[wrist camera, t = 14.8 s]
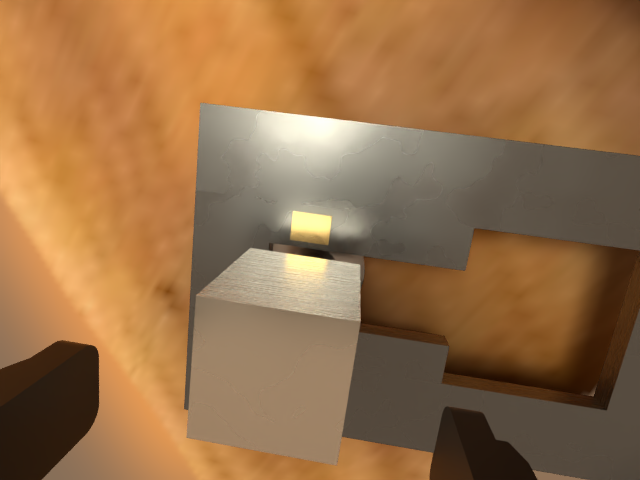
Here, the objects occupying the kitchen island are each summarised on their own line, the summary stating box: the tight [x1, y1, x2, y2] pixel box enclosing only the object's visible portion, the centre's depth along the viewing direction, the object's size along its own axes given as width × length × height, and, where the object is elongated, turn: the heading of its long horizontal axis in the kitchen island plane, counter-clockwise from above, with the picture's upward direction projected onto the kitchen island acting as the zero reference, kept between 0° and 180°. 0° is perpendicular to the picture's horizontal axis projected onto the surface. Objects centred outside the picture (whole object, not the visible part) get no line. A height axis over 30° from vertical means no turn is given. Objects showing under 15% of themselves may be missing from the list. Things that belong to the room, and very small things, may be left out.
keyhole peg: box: [187, 243, 365, 465], centre depth 16 cm, size 5×5×12 cm
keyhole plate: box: [184, 103, 640, 480], centre depth 19 cm, size 22×14×4 cm, turn 83°
